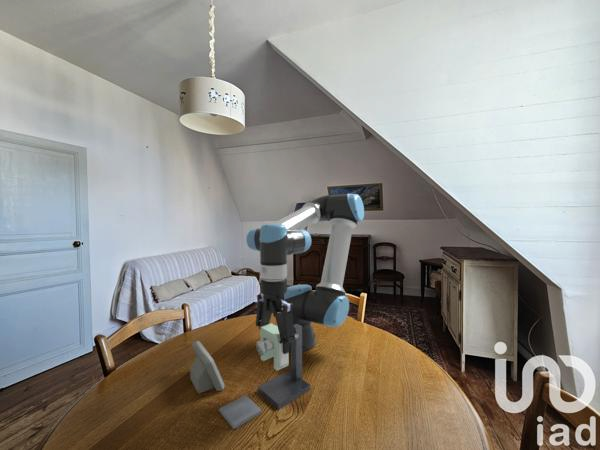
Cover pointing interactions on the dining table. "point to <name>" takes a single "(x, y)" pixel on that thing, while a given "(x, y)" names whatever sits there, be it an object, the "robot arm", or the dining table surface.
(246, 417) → the coaster
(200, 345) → the digital clock
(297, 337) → the stand
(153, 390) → the dining table surface
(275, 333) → the bracket
